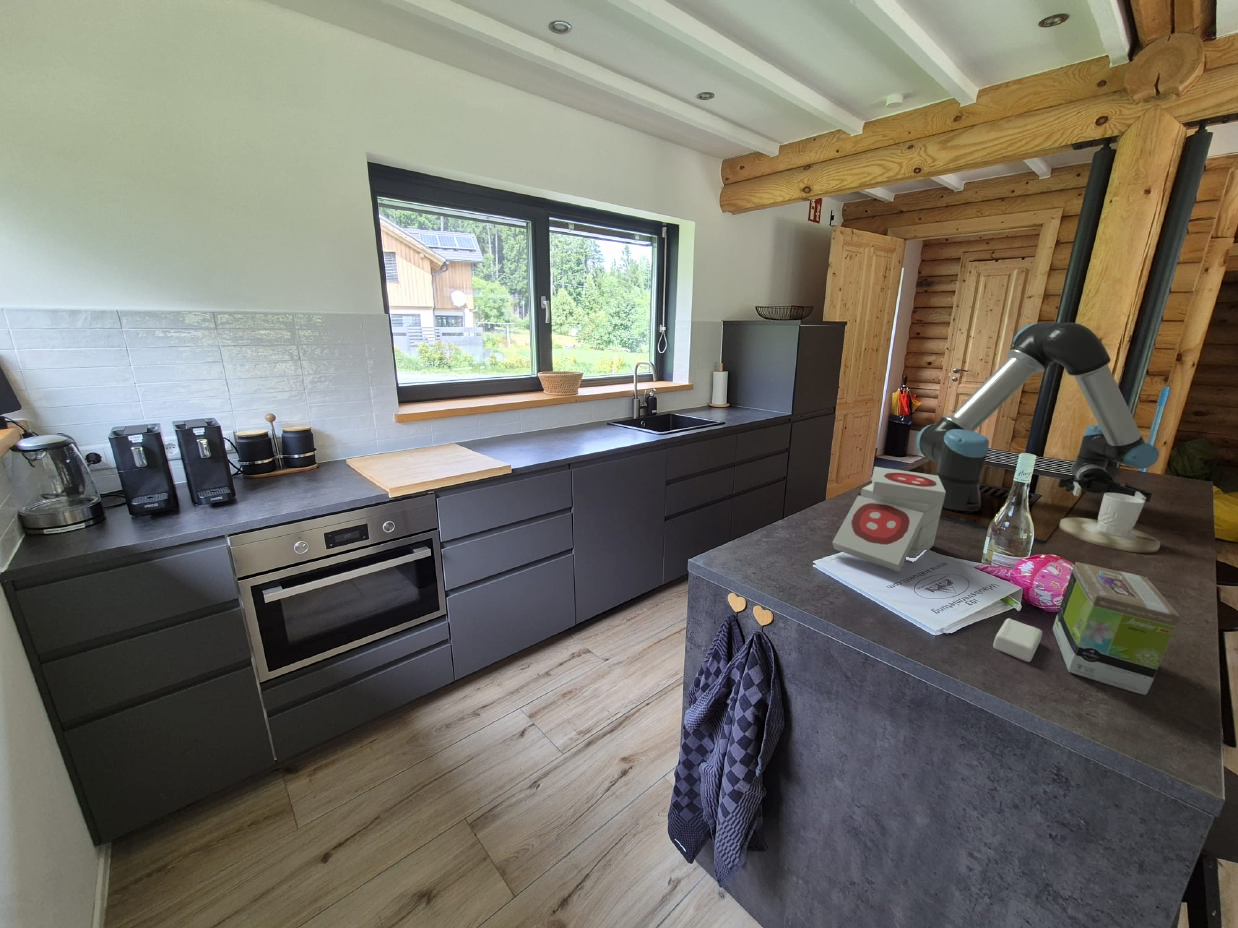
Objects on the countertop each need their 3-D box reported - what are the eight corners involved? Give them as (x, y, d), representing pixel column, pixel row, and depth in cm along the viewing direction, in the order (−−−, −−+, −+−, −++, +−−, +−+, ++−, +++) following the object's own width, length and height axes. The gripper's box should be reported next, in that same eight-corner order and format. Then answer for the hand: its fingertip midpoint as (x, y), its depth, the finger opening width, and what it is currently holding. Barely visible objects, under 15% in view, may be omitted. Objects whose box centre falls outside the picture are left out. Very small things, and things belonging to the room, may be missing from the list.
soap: (1029, 664, 85) (1034, 649, 84) (991, 649, 89) (995, 634, 88) (1039, 643, 91) (1044, 629, 90) (1003, 629, 95) (1007, 615, 94)
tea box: (1150, 698, 78) (1183, 615, 74) (1066, 673, 83) (1093, 594, 79) (1121, 647, 90) (1148, 574, 86) (1050, 628, 95) (1073, 558, 91)
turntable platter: (1065, 539, 134) (1067, 533, 134) (1054, 516, 150) (1055, 511, 150) (1170, 560, 124) (1172, 554, 123) (1145, 533, 140) (1147, 528, 139)
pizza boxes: (822, 554, 123) (833, 484, 118) (869, 523, 143) (881, 463, 137) (906, 584, 109) (923, 508, 104) (946, 546, 129) (961, 480, 124)
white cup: (1115, 527, 140) (1126, 493, 137) (1141, 539, 132) (1153, 503, 129) (1085, 525, 140) (1096, 491, 137) (1109, 536, 133) (1121, 501, 130)
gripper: (1144, 498, 153) (1166, 520, 136) (1040, 482, 166) (1049, 499, 149) (1152, 475, 151) (1176, 494, 134) (1047, 460, 164) (1056, 475, 147)
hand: (1109, 497), depth 141 cm, fingers open, 13 cm apart
